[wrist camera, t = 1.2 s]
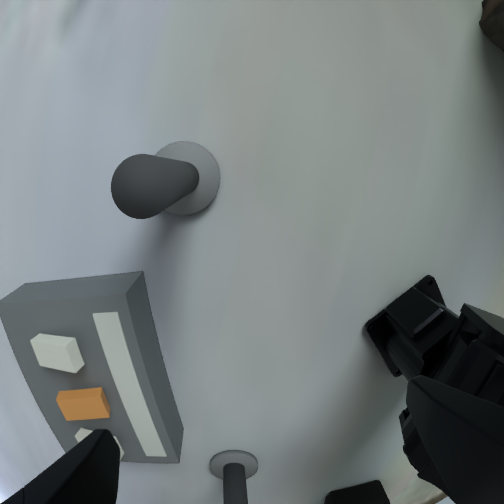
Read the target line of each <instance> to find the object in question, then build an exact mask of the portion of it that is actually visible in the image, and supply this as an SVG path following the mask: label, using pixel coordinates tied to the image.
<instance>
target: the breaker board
mask: <svg viewBox="0 0 504 504" xmlns="http://www.w3.org/2000/svg"><path fill="white" fill-rule="evenodd" d="M0 317H1V320H2V323H3V326H4V329H5V332H6V334H7V337H8V340H9V342H10V345H11V347H12V350H13V352H14V355H15V357H16V359H17V362H18V364H19V366H20V369H21V371H22V373H23V375H24V378H25V380H26V382H27V384H28V386H29V388H30V390H31V392H32V394H33V396H34V398H35V400H36V402H37V404H38V406H39V408H40V410H41V412H42V414H43V415H44V417H45V419H46V421H47V423H48V424H49V426H50V428H51V430H52V431H53V433H54V435H55V436H56V438H57V440H58V441H59V443H60V445H61V446H62V448H63V449H64V451H65V453H67V452H68V451H69V450H70V449H72V448H73V447H74V446H75V445H77V444H78V441H77V439H76V438H75V435H76V434H77V432H78V431H79V430H80V428H84V429H87V430H91V431H94V430H95V429H108V430H109V431H110V432H111V434H112V435H113V436H115V437H116V438H117V440H118V442H119V444H120V445H121V447H122V449H123V451H124V455H123V456H122V458H121V460H120V461H123V462H139V463H179V462H180V454H181V446H182V438H183V430H184V428H183V425H182V422H181V419H180V416H179V413H178V410H177V406H176V403H175V400H174V396H173V393H172V390H171V386H170V383H169V379H168V376H167V372H166V369H165V365H164V361H163V357H162V354H161V350H160V346H159V342H158V338H157V334H156V330H155V325H154V321H153V317H152V312H151V308H150V304H149V299H148V294H147V289H146V285H145V280H144V275H143V271H141V272H132V273H122V274H113V275H103V276H94V277H84V278H75V279H65V280H55V281H45V282H35V283H25V284H24V285H22V286H21V287H19V288H18V289H16V290H15V291H13V292H12V293H10V294H9V295H7V296H6V297H4V298H3V299H1V300H0ZM39 333H40V334H48V335H55V336H63V337H72V338H75V339H76V342H77V345H78V348H79V350H80V353H81V356H82V359H83V362H84V365H83V366H82V367H81V368H80V369H79V370H78V371H77V372H76V373H72V372H67V371H62V370H57V369H52V368H48V367H43V366H40V365H39V362H38V360H37V357H36V355H35V352H34V350H33V347H32V345H31V342H30V340H31V339H33V338H34V337H35V336H37V335H38V334H39ZM98 387H102V389H103V391H104V393H105V396H106V398H107V401H108V403H109V405H110V408H111V409H110V417H109V418H99V419H87V420H72V421H66V419H65V417H64V415H63V413H62V411H61V409H60V407H59V405H58V403H57V401H56V398H57V396H58V393H59V391H68V390H79V389H89V388H98Z"/></svg>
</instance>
